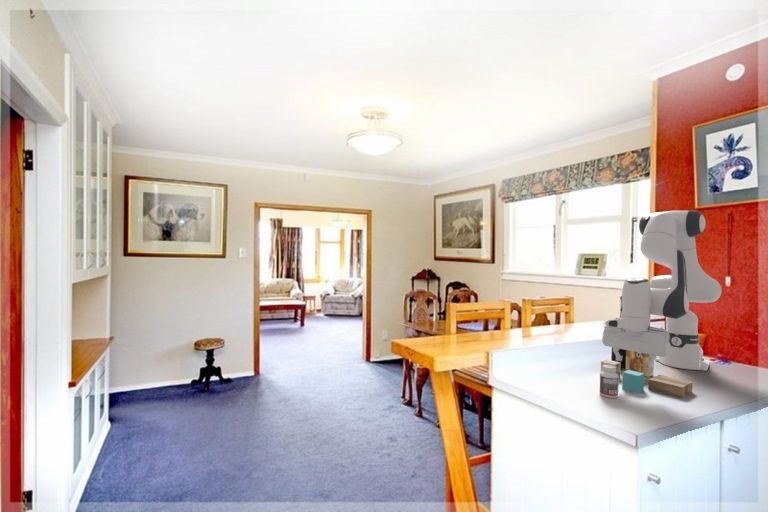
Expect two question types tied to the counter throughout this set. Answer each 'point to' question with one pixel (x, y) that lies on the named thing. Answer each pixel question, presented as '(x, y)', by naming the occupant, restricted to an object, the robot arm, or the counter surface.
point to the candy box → (638, 362)
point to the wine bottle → (620, 350)
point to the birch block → (613, 363)
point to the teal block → (633, 381)
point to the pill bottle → (609, 382)
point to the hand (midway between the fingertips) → (633, 363)
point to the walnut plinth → (670, 386)
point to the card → (646, 381)
